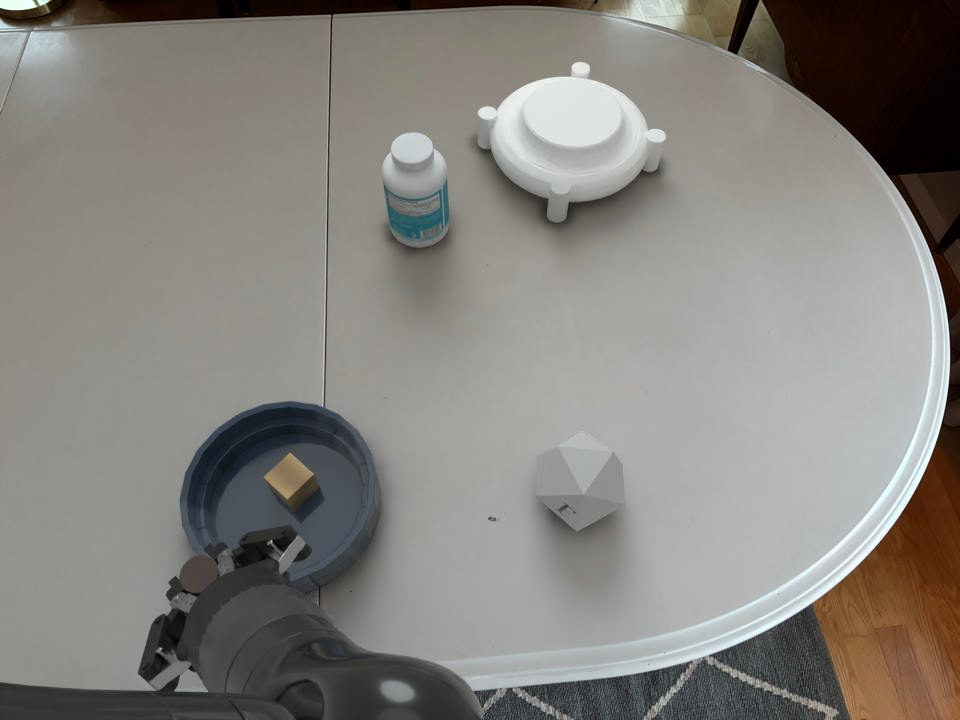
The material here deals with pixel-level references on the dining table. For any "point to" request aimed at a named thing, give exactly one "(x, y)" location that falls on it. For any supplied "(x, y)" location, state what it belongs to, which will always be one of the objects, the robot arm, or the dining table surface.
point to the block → (292, 482)
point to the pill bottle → (416, 191)
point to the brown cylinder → (198, 574)
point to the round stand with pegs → (569, 139)
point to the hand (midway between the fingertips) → (197, 571)
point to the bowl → (253, 506)
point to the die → (580, 480)
